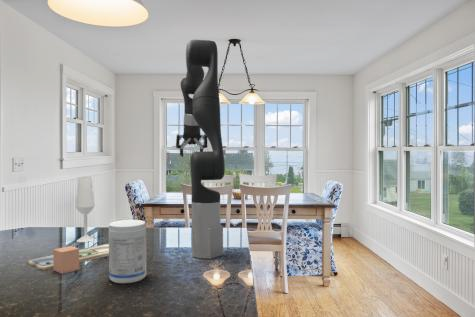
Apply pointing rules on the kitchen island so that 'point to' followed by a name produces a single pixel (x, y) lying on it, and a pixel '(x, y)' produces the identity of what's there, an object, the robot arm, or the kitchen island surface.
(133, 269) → the supplement tub
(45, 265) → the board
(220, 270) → the kitchen island surface
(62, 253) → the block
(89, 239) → the champagne flute
